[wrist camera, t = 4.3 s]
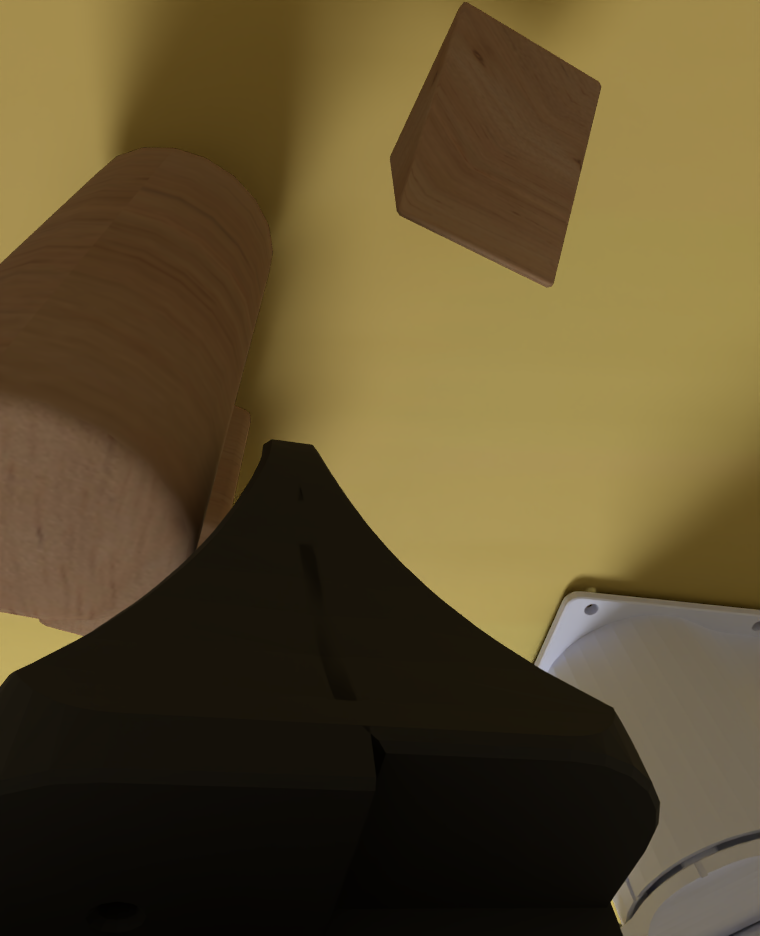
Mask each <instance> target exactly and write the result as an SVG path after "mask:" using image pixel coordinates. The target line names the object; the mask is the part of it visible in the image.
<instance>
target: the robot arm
mask: <svg viewBox="0 0 760 936" xmlns="http://www.w3.org/2000/svg"><path fill="white" fill-rule="evenodd" d="M590 604H593V605H592V606H590V607H587V606H588V605H590ZM586 607H587V608H586ZM612 899H613V902H614V904H615V907H616V910H617V912H618V915H619V917H620V920H621V923H622V925H623V926H622V927H620V926H619V923H618V921H617V918H616V916H615V913H614V910H613V908H612V905H611V900H612ZM0 936H760V610H756V609H746V608H736V607H727V606H717V605H708V604H698V603H689V602H679V601H669V600H660V599H650V598H641V597H631V596H622V595H612V594H602V593H593V592H583V591H575V592H572V593H570V594H568V595H567V596H566V597H565V598H564V599H563V601H562V603H561V605H560V608H559V610H558V612H557V614H556V617H555V619H554V621H553V623H552V626H551V628H550V630H549V632H548V635H547V637H546V639H545V641H544V644H543V646H542V648H541V650H540V652H539V655H538V657H537V659H536V661H535V664H532V663H531V662H529V661H527V660H526V659H524V658H523V657H521V656H520V655H518V654H516V653H515V652H513V651H512V650H510V649H509V648H507V647H505V646H504V645H502V644H501V643H499V642H498V641H496V640H495V639H493V638H492V637H491V636H489V635H488V634H486V633H485V632H483V631H482V630H480V629H479V628H478V627H476V626H475V625H474V624H472V623H471V622H470V621H468V620H467V619H466V618H465V617H463V616H462V615H461V614H459V613H458V612H457V611H456V610H454V609H453V608H452V607H450V606H449V605H448V604H447V603H445V602H444V601H443V600H442V599H440V598H439V597H438V596H437V595H436V594H435V593H433V592H432V591H431V590H430V589H429V588H428V587H427V586H426V585H424V584H423V583H422V582H421V581H420V580H419V579H418V578H417V577H416V576H415V575H414V574H413V573H412V572H411V571H410V570H409V569H408V568H406V567H405V566H404V565H403V564H402V563H401V562H400V561H399V560H398V559H397V558H396V556H395V555H394V554H393V553H392V552H391V551H390V550H389V549H388V548H387V547H386V546H385V544H384V543H383V542H382V541H381V540H380V539H379V538H378V536H377V535H376V534H375V533H374V532H373V531H372V529H371V528H370V527H369V526H368V525H367V523H366V522H365V521H364V519H363V518H362V517H361V515H360V514H359V513H358V511H357V510H356V509H355V507H354V506H353V505H352V503H351V502H350V500H349V499H348V498H347V496H346V495H345V493H344V492H343V490H342V489H341V487H340V486H339V484H338V483H337V481H336V480H335V478H334V477H333V475H332V474H331V472H330V471H329V469H328V467H327V466H326V464H325V463H324V461H323V459H322V458H321V456H320V455H319V453H318V452H317V450H316V449H315V447H314V446H313V445H310V444H303V443H295V442H288V441H281V440H274V439H272V440H270V441H268V442H267V443H265V444H264V445H263V451H262V457H261V460H260V462H259V464H258V466H257V468H256V470H255V472H254V474H253V476H252V478H251V480H250V481H249V483H248V484H247V486H246V488H245V489H244V491H243V492H242V494H241V496H240V497H239V499H238V500H237V502H236V503H235V504H234V506H233V507H232V508H231V510H230V511H229V512H228V513H227V515H226V516H225V517H224V518H223V520H222V521H221V522H220V524H219V525H218V526H217V527H216V529H215V530H214V531H213V532H212V533H211V534H210V536H209V537H208V538H207V539H206V540H205V541H204V542H203V543H202V544H201V545H200V546H199V547H198V549H197V550H196V551H195V552H194V553H192V554H191V555H190V556H189V557H188V558H187V559H186V560H185V561H184V562H183V563H182V564H181V565H180V566H179V567H178V568H177V569H176V570H174V571H173V572H172V573H171V574H170V575H169V576H167V577H166V578H165V579H164V580H163V581H162V582H160V583H159V584H158V585H157V586H156V587H154V588H153V589H152V590H151V591H149V592H148V593H147V594H146V595H144V596H143V597H142V598H140V599H139V600H138V601H136V602H135V603H133V604H132V605H130V606H129V607H127V608H126V609H124V610H123V611H121V612H120V613H118V614H117V615H115V616H114V617H112V618H111V619H109V620H108V621H107V622H105V623H104V624H102V625H101V626H99V627H98V628H96V629H95V630H93V631H92V632H90V633H88V634H87V635H85V636H83V637H82V638H80V639H78V640H76V641H74V642H72V643H70V644H69V645H67V646H65V647H63V648H61V649H59V650H57V651H55V652H53V653H51V654H49V655H47V656H45V657H43V658H41V659H39V660H37V661H35V662H34V663H32V664H30V665H27V666H25V667H23V668H21V669H19V670H17V671H15V672H13V673H11V674H10V675H9V676H8V677H7V679H6V680H5V681H4V682H3V684H2V685H1V686H0Z"/></svg>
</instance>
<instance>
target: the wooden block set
mask: <svg viewBox="0 0 760 936" xmlns="http://www.w3.org/2000/svg"><path fill="white" fill-rule="evenodd" d="M600 90H601V85H600V83H599V82H598V81H597V80H595V79H593V78H592V77H590V76H589V75H587V74H585V73H584V72H582V71H580V70H579V69H577V68H575V67H574V66H572V65H570V64H569V63H567V62H565V61H564V60H562V59H560V58H559V57H557V56H555V55H554V54H552V53H550V52H549V51H547V50H545V49H544V48H542V47H540V46H539V45H537V44H535V43H534V42H532V41H530V40H529V39H527V38H526V37H524V36H522V35H521V34H519V33H517V32H516V31H514V30H512V29H511V28H509V27H507V26H506V25H504V24H502V23H501V22H499V21H497V20H496V19H494V18H492V17H491V16H489V15H487V14H486V13H484V12H482V11H481V10H479V9H477V8H476V7H474V6H472V5H471V4H469V3H467V2H464V3H463V4H462V5H461V7H460V8H459V9H458V12H457V14H456V16H455V18H454V20H453V22H452V24H451V27H450V29H449V31H448V33H447V35H446V37H445V40H444V42H443V44H442V46H441V48H440V50H439V52H438V55H437V57H436V59H435V61H434V63H433V65H432V68H431V70H430V72H429V74H428V76H427V78H426V80H425V83H424V85H423V87H422V89H421V91H420V93H419V96H418V98H417V100H416V102H415V104H414V106H413V108H412V111H411V113H410V115H409V117H408V119H407V121H406V124H405V126H404V128H403V130H402V132H401V134H400V136H399V139H398V141H397V143H396V145H395V147H394V149H393V152H392V154H391V156H390V163H391V171H392V178H393V186H394V193H395V201H396V208H397V212H398V214H399V215H400V216H402V217H404V218H406V219H408V220H410V221H412V222H414V223H416V224H418V225H420V226H422V227H424V228H426V229H428V230H430V231H433V232H435V233H437V234H439V235H441V236H443V237H445V238H447V239H449V240H451V241H453V242H455V243H457V244H459V245H461V246H463V247H465V248H467V249H469V250H471V251H473V252H475V253H477V254H480V255H482V256H484V257H486V258H488V259H490V260H492V261H494V262H496V263H498V264H500V265H502V266H504V267H506V268H508V269H510V270H512V271H514V272H516V273H518V274H520V275H522V276H524V277H527V278H529V279H531V280H533V281H535V282H537V283H539V284H541V285H543V286H545V287H551V286H552V285H553V283H554V280H555V275H556V271H557V267H558V263H559V259H560V255H561V251H562V247H563V242H564V238H565V234H566V230H567V226H568V222H569V218H570V214H571V209H572V205H573V201H574V197H575V193H576V189H577V185H578V181H579V177H580V172H581V168H582V164H583V160H584V156H585V152H586V148H587V144H588V139H589V135H590V131H591V127H592V123H593V119H594V115H595V111H596V106H597V102H598V98H599V94H600ZM272 255H273V248H272V242H271V236H270V230H269V225H268V223H267V221H266V219H265V217H264V215H263V213H262V211H261V209H260V207H259V205H258V203H257V201H256V199H255V198H254V197H253V196H252V195H251V194H250V193H249V192H248V191H247V190H246V189H245V187H244V186H243V185H242V184H241V183H240V182H239V181H238V180H237V179H236V178H235V177H234V176H233V175H232V174H230V173H228V172H227V171H225V170H224V169H222V168H221V167H219V166H218V165H216V164H214V163H213V162H211V161H210V160H208V159H207V158H204V157H201V156H198V155H195V154H192V153H188V152H185V151H182V150H179V149H176V148H147V147H144V148H140V149H137V150H134V151H131V152H128V153H125V154H122V155H119V156H116V157H115V158H114V159H113V160H112V161H111V162H110V163H108V164H107V165H106V166H105V167H104V168H103V169H101V170H100V171H99V172H98V173H97V174H96V175H95V176H94V177H92V178H91V179H90V180H89V181H88V182H87V183H86V184H85V185H84V186H83V187H82V188H81V189H80V190H79V191H77V192H76V193H75V194H74V195H73V196H72V197H71V198H70V199H69V200H68V201H67V202H66V203H65V204H64V205H63V206H61V207H60V208H59V209H58V210H57V211H56V212H55V213H54V214H53V215H52V216H51V217H50V218H49V219H48V220H47V221H45V222H44V223H43V224H42V225H41V226H40V227H39V228H38V229H37V230H36V231H35V232H34V233H33V234H32V235H30V236H29V237H28V238H27V239H26V240H25V241H24V242H23V243H22V244H21V245H20V246H19V247H18V248H17V249H16V250H14V251H13V252H12V253H11V254H10V255H9V256H8V257H7V258H6V259H5V260H4V261H3V262H2V263H1V264H0V612H4V613H10V614H15V615H21V616H27V617H32V618H38V619H39V621H40V622H41V623H42V624H44V625H45V626H48V627H52V628H55V629H59V630H63V631H67V632H71V633H75V634H78V635H82V636H85V635H87V634H88V633H90V632H92V631H93V630H95V629H96V628H98V627H99V626H101V625H102V624H104V623H105V622H107V621H108V620H109V619H111V618H112V617H114V616H115V615H117V614H118V613H120V612H121V611H123V610H124V609H126V608H127V607H129V606H130V605H132V604H133V603H135V602H136V601H138V600H139V599H140V598H142V597H143V596H144V595H146V594H147V593H148V592H149V591H151V590H152V589H153V588H154V587H156V586H157V585H158V584H159V583H160V582H162V581H163V580H164V579H165V578H166V577H167V576H169V575H170V574H171V573H172V572H173V571H174V570H176V569H177V568H178V567H179V566H180V565H181V564H182V563H183V562H184V561H185V560H186V559H187V558H188V557H189V556H190V555H191V554H192V553H194V552H195V551H196V550H197V549H198V547H199V546H200V545H201V544H202V543H203V542H204V541H205V540H206V539H207V538H208V537H209V536H210V534H211V533H212V532H213V531H214V530H215V529H216V527H217V526H218V525H219V524H220V522H221V521H222V520H223V518H224V517H225V516H226V515H227V513H228V512H229V511H230V510H231V508H232V505H233V501H234V496H235V491H236V487H237V482H238V478H239V473H240V469H241V464H242V460H243V455H244V450H245V446H246V441H247V437H248V432H249V428H250V423H251V418H250V413H249V412H247V411H246V410H245V409H242V408H240V407H237V406H234V405H235V401H236V397H237V394H238V390H239V386H240V382H241V378H242V375H243V371H244V367H245V363H246V359H247V355H248V352H249V348H250V344H251V340H252V336H253V333H254V329H255V325H256V321H257V317H258V313H259V310H260V306H261V302H262V298H263V294H264V291H265V287H266V283H267V279H268V275H269V270H270V265H271V260H272Z"/></svg>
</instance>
